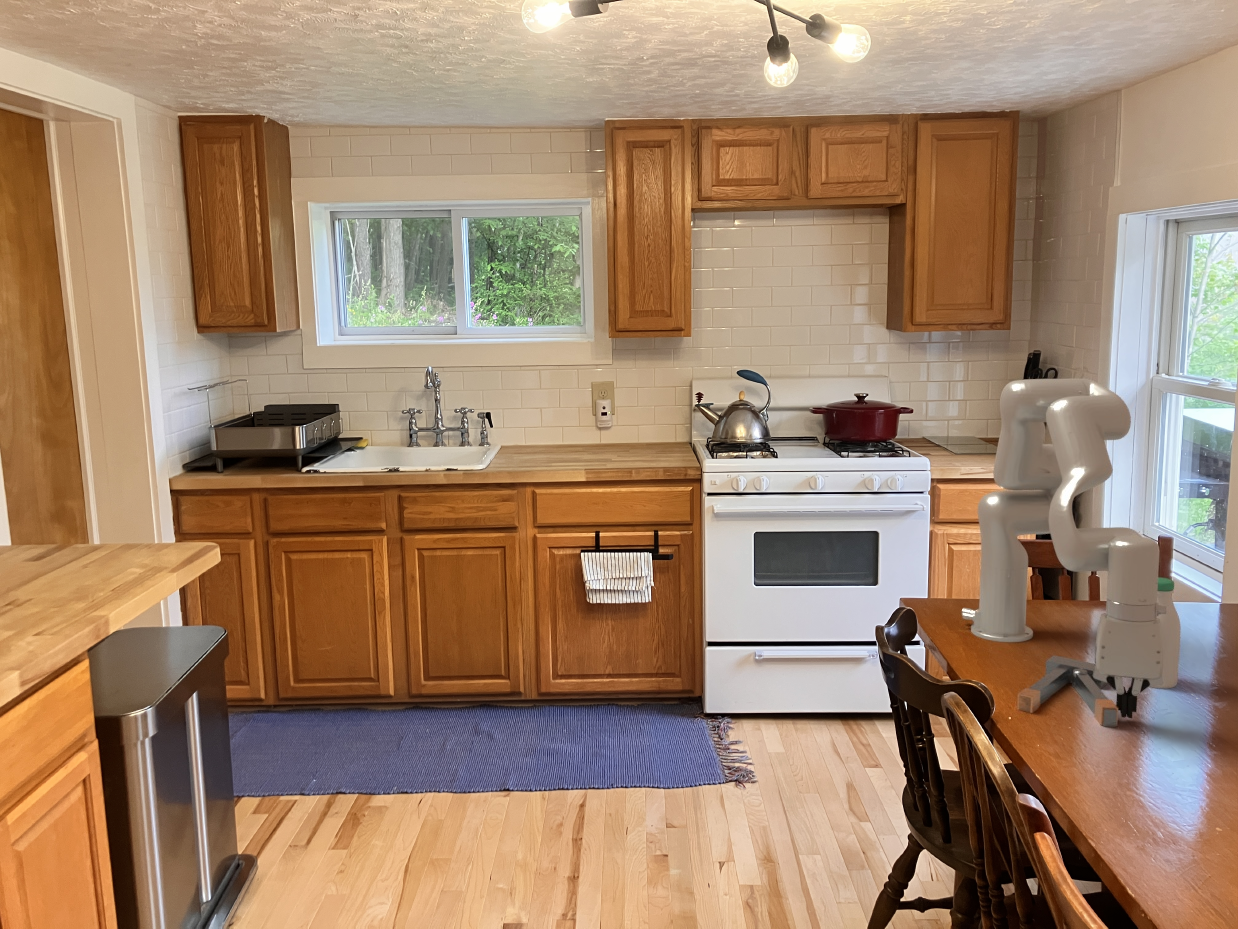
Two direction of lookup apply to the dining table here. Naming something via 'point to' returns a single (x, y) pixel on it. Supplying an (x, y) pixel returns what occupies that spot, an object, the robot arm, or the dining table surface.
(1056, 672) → the tongs base
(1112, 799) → the dining table surface
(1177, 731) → the dining table surface
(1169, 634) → the milk bottle
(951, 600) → the dining table surface
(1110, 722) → the arm
